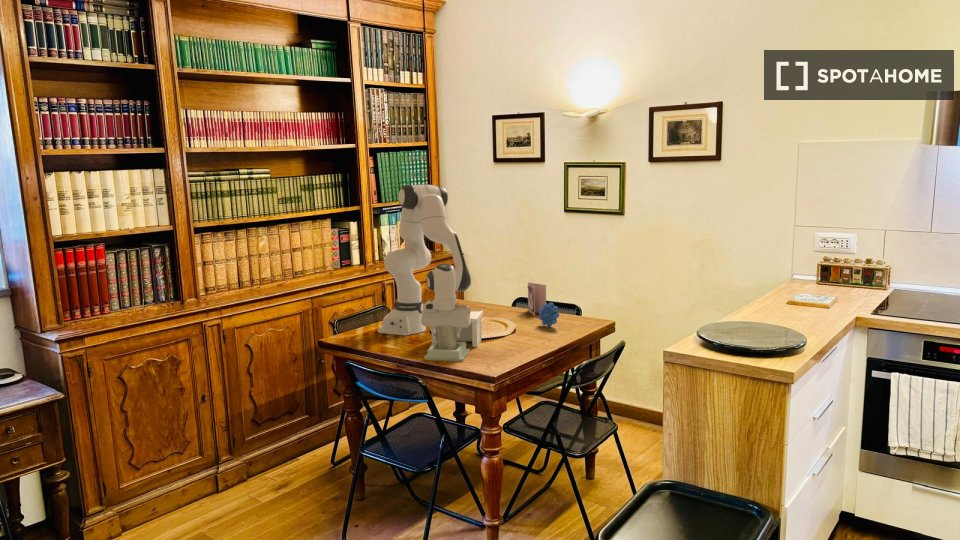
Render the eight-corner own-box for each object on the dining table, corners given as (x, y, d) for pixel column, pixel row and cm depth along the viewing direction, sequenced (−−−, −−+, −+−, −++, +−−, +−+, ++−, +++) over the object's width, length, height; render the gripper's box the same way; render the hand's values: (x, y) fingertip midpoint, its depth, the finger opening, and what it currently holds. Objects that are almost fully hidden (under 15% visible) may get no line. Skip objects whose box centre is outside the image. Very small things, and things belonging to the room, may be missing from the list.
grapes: (564, 327, 323) (564, 302, 321) (555, 330, 318) (555, 304, 316) (544, 322, 331) (544, 298, 329) (535, 325, 326) (535, 301, 324)
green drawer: (424, 359, 278) (423, 350, 278) (432, 349, 292) (432, 340, 291) (462, 361, 275) (462, 351, 275) (469, 350, 289) (469, 341, 288)
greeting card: (526, 310, 355) (526, 282, 352) (540, 309, 357) (540, 281, 354) (533, 316, 344) (533, 286, 341) (547, 315, 346) (547, 286, 343)
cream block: (427, 347, 294) (426, 317, 292) (435, 338, 308) (434, 309, 305) (477, 349, 290) (477, 318, 288) (483, 340, 304) (483, 310, 301)
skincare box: (456, 352, 283) (455, 324, 281) (449, 355, 280) (448, 326, 277) (445, 350, 287) (444, 322, 285) (438, 353, 283) (437, 324, 281)
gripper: (472, 303, 281) (472, 335, 283) (423, 301, 285) (424, 333, 287) (468, 306, 275) (469, 340, 277) (419, 305, 278) (420, 337, 281)
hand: (446, 336), depth 282 cm, fingers open, 8 cm apart
